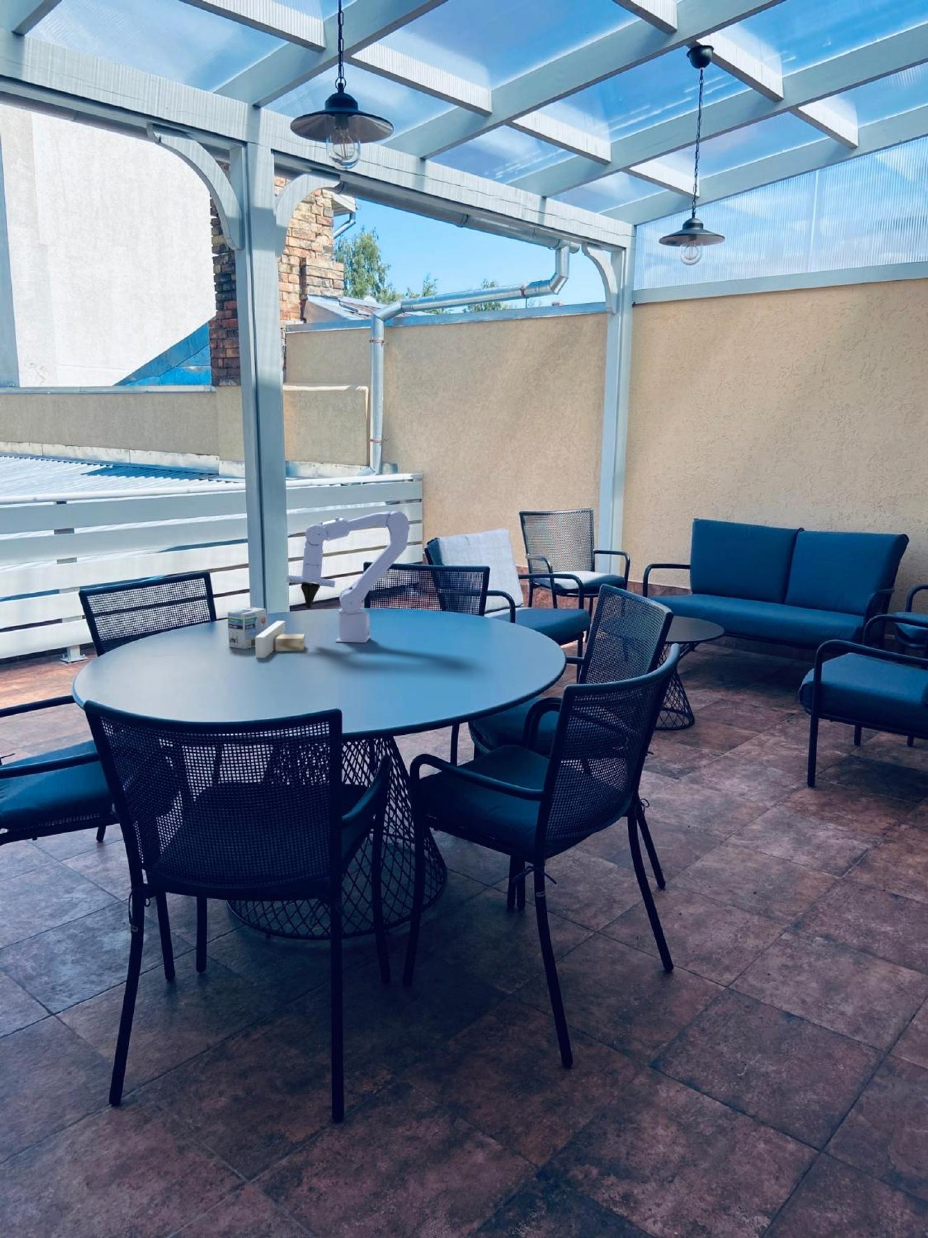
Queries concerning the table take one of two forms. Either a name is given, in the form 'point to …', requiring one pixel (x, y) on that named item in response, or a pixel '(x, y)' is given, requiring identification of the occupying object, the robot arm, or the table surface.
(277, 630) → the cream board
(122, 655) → the table surface
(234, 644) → the light bulb box
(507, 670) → the table surface
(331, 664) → the table surface
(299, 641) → the maple block
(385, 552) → the robot arm
